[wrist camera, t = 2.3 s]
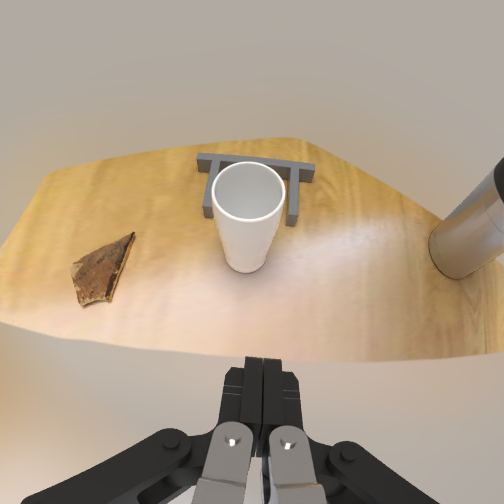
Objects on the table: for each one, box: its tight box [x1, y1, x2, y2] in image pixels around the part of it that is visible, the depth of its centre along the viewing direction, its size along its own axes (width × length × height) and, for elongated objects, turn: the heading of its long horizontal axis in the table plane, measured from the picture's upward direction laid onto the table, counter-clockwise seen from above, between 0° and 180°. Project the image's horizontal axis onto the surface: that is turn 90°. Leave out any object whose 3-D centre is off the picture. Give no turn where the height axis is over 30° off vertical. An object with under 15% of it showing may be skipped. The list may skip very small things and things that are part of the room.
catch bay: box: [197, 153, 315, 226], centre depth 44 cm, size 17×9×3 cm, turn 84°
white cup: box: [211, 162, 286, 273], centre depth 35 cm, size 7×7×15 cm
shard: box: [71, 232, 135, 306], centre depth 40 cm, size 11×8×2 cm
